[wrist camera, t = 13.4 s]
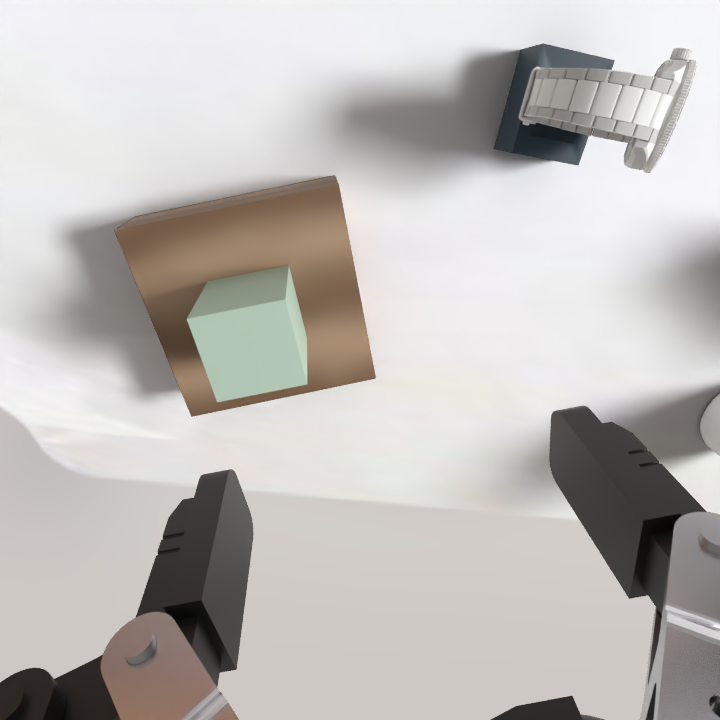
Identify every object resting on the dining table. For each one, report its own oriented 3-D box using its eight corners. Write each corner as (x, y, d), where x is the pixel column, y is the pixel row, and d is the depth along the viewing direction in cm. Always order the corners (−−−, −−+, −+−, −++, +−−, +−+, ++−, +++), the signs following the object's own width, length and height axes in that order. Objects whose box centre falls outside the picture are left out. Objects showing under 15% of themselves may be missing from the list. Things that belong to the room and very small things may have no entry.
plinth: (135, 216, 31) (114, 230, 28) (335, 175, 31) (338, 184, 28) (202, 387, 37) (191, 416, 34) (369, 352, 37) (375, 378, 34)
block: (207, 281, 30) (186, 319, 24) (289, 265, 30) (285, 299, 24) (231, 353, 32) (217, 402, 27) (307, 338, 32) (307, 384, 27)
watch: (581, 165, 33) (699, 190, 23) (468, 143, 31) (541, 160, 22) (615, 69, 30) (762, 51, 20) (493, 41, 29) (589, 7, 19)
